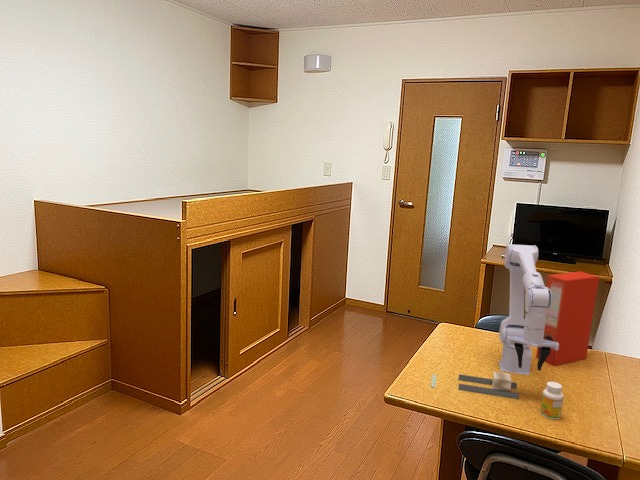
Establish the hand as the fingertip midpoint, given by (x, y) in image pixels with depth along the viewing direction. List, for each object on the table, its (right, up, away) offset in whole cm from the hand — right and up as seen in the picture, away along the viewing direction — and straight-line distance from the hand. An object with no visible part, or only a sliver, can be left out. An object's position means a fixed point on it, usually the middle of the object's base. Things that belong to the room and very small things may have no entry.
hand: (529, 367), depth 152 cm
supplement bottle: (+2, -12, -9) cm, 15 cm away
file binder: (+25, -5, +31) cm, 40 cm away
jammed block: (-8, -8, +4) cm, 12 cm away
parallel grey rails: (-11, -8, +5) cm, 15 cm away
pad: (-24, -7, +8) cm, 27 cm away
